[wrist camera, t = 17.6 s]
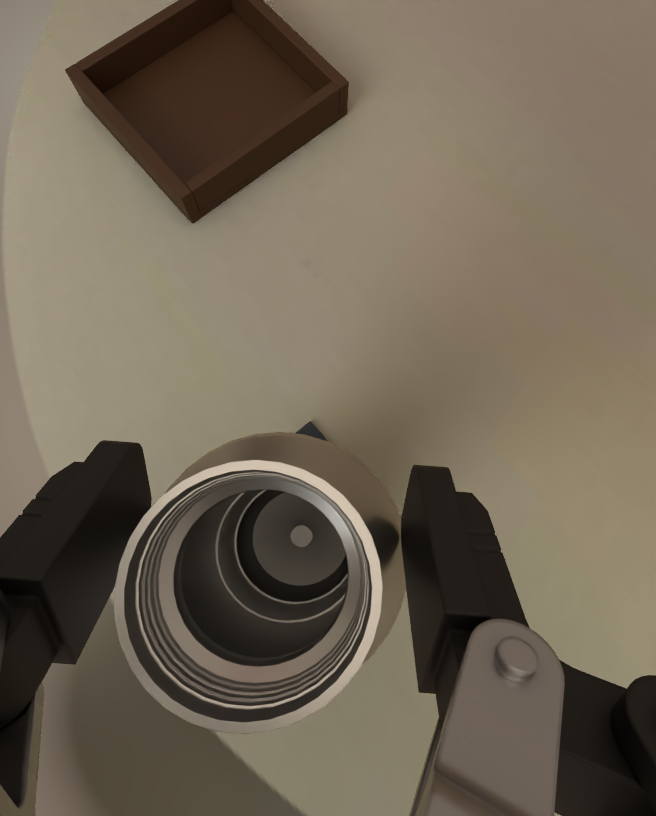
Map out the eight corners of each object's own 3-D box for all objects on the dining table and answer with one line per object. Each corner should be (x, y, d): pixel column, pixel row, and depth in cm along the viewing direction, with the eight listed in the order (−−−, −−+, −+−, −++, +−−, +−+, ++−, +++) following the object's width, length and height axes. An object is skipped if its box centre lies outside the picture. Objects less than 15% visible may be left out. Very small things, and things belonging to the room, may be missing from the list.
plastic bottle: (362, 597, 25) (519, 868, 6) (237, 598, 25) (-46, 878, 5) (360, 477, 27) (478, 366, 7) (242, 477, 26) (35, 362, 7)
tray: (192, 224, 30) (181, 198, 28) (83, 102, 32) (64, 69, 30) (347, 114, 33) (349, 81, 30) (236, 6, 35) (229, -32, 32)
